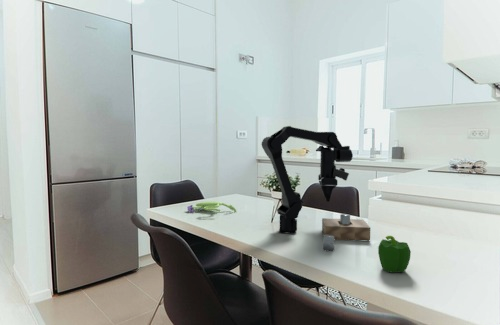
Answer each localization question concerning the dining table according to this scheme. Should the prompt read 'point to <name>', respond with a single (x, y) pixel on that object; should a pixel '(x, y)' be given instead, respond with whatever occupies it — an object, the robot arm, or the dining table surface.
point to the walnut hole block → (346, 229)
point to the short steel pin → (328, 242)
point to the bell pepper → (393, 255)
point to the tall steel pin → (345, 219)
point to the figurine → (209, 206)
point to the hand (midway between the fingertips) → (326, 199)
